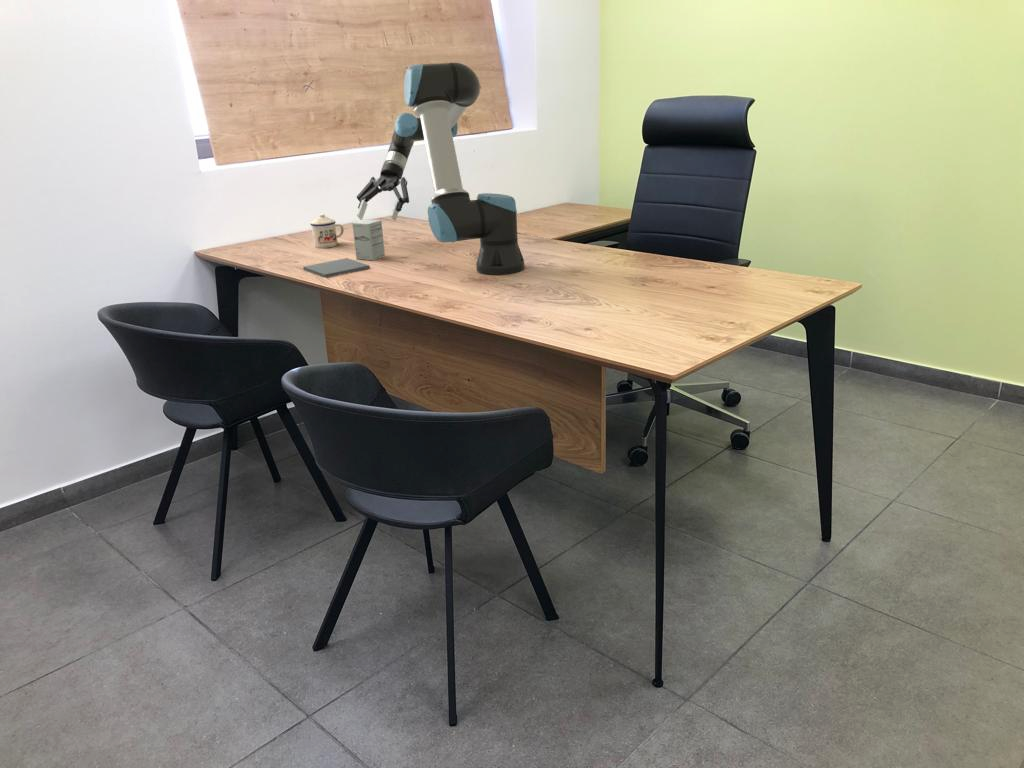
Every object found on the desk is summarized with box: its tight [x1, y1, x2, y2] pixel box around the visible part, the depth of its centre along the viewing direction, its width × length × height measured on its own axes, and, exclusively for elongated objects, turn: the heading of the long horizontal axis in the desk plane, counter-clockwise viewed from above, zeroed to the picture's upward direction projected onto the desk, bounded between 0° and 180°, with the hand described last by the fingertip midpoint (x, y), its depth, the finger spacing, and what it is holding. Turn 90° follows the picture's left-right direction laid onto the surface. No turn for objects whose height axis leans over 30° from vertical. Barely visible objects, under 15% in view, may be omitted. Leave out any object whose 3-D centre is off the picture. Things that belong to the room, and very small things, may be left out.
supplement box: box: [351, 218, 386, 261], centre depth 277 cm, size 7×7×13 cm
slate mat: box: [302, 257, 370, 278], centre depth 266 cm, size 16×16×1 cm
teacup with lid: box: [310, 213, 345, 249], centre depth 301 cm, size 12×9×12 cm
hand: (376, 218), depth 281 cm, fingers open, 13 cm apart
